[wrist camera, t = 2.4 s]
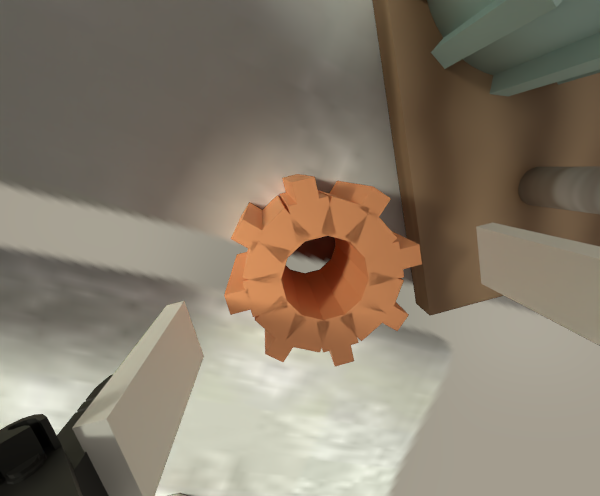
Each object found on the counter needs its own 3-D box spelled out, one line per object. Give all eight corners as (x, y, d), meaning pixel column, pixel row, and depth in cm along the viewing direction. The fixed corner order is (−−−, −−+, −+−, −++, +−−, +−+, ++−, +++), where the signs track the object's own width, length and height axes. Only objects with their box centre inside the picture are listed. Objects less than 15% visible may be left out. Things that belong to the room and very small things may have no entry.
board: (416, 303, 23) (478, 357, 17) (349, -161, 16) (409, -394, 10) (613, 250, 24) (748, 281, 17) (630, -214, 17) (869, -463, 10)
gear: (257, 322, 22) (254, 388, 16) (218, 193, 20) (195, 205, 13) (382, 288, 23) (432, 339, 16) (359, 158, 20) (407, 154, 14)
